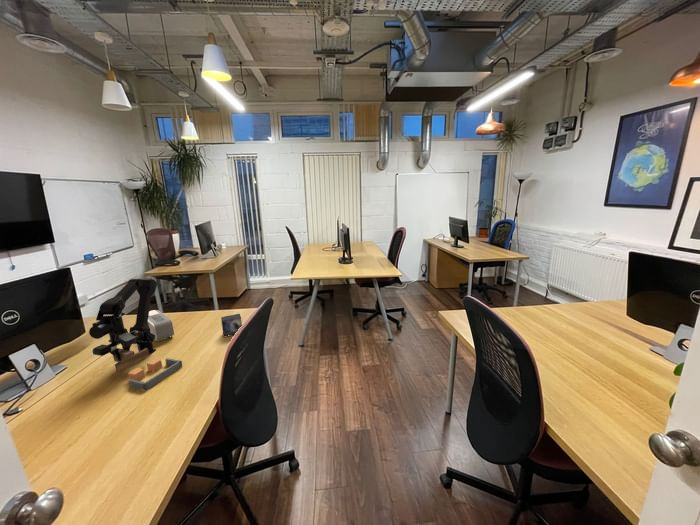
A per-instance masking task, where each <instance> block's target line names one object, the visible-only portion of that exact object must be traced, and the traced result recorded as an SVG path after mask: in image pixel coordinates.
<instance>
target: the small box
mask: <svg viewBox="0 0 700 525" xmlns="http://www.w3.org/2000/svg"><path fill="white" fill-rule="evenodd" d="M220 320H221V328H222V329H221V330H222V334H223V335H224V336H228V335H232V336H235V335H234V334H235V333H236V332H237V331H238V329H239V328H240V327H241V326H242V327H243V324H242V323H243V322H242V316H241V313H236V314H230V315H226V316H224V315H223V316H221V317H220ZM223 335H222V336H223ZM224 336H223V337H224ZM228 337H229V336H228Z"/></svg>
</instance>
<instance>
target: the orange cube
mask: <svg viewBox="0 0 700 525" xmlns="http://www.w3.org/2000/svg"><path fill="white" fill-rule="evenodd" d="M146 367H147V372H148V371H149V372H152V373H155V372H157V371H159V370H160V369H162V368H163V363H162V360H161V359H159V358H153V359H151V360H150V361H148V362H146Z"/></svg>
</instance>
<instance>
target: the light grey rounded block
mask: <svg viewBox="0 0 700 525" xmlns="http://www.w3.org/2000/svg"><path fill="white" fill-rule="evenodd" d="M148 326H149V327H150V333H152V334H154V335H155V340H154V341H153V342H160V341H159V340H161V341H163V340H162V339H164V340H166V339H165V338H167V337H170V336H172V337H173V336H174V335H175V331H174V326H173V321H172V319H171V318H170V317H169V316H167V315H165V314H164V313H162V311H160V310H158V309H153V310H149V316H148ZM170 338H171V337H170ZM167 339H168V338H167Z"/></svg>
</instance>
